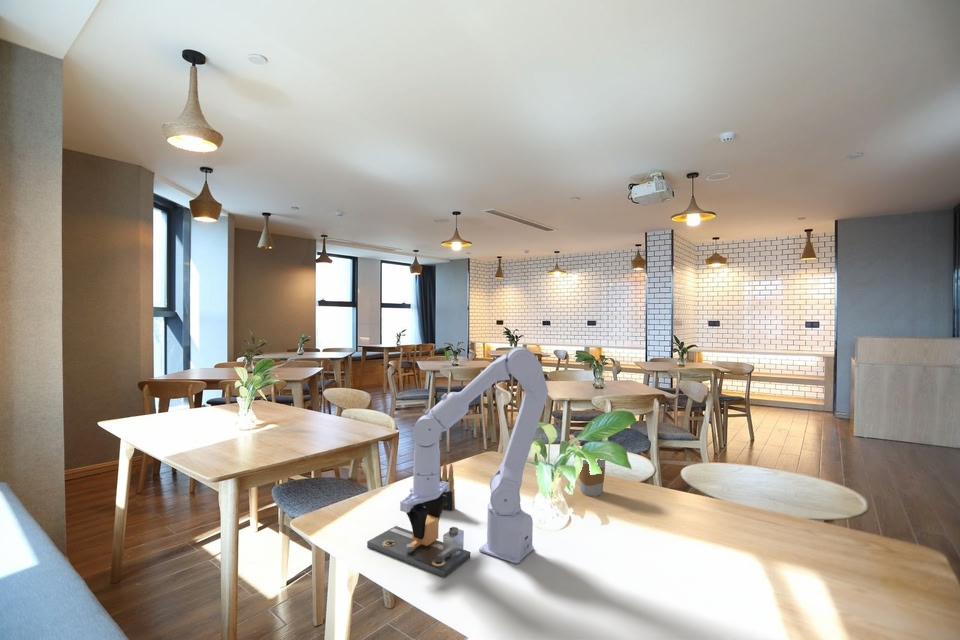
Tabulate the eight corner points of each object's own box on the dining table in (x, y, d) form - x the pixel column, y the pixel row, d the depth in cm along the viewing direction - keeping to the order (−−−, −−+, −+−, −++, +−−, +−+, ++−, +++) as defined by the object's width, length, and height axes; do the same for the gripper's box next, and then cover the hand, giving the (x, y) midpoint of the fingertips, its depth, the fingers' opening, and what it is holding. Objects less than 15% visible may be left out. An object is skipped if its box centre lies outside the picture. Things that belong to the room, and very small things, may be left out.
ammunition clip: (454, 508, 121) (455, 463, 121) (452, 511, 119) (453, 465, 119) (417, 503, 124) (418, 458, 124) (414, 505, 122) (415, 460, 122)
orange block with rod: (438, 538, 101) (438, 518, 101) (414, 553, 94) (414, 532, 94) (424, 533, 103) (424, 513, 103) (399, 548, 96) (400, 526, 96)
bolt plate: (470, 557, 96) (470, 529, 96) (444, 577, 88) (445, 546, 88) (395, 531, 107) (396, 505, 107) (367, 546, 100) (367, 519, 100)
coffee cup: (609, 491, 135) (610, 440, 135) (601, 500, 128) (602, 446, 128) (582, 485, 139) (583, 435, 139) (572, 493, 132) (573, 442, 132)
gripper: (432, 459, 108) (431, 517, 108) (389, 477, 96) (388, 541, 96) (457, 465, 104) (456, 524, 104) (415, 484, 92) (414, 551, 92)
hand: (425, 533), depth 100 cm, fingers closed on orange block with rod, 4 cm apart
